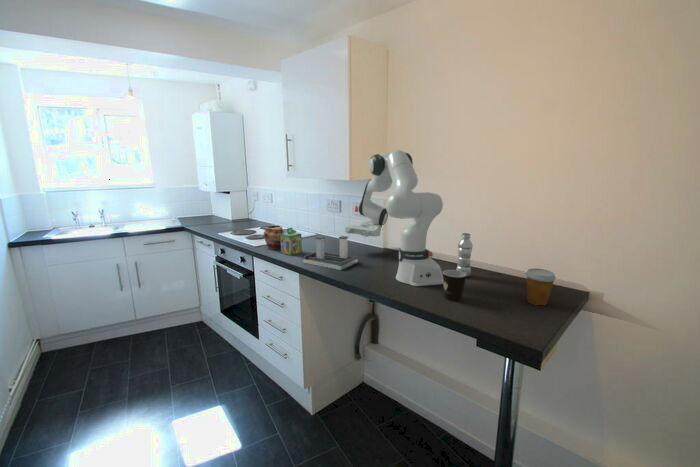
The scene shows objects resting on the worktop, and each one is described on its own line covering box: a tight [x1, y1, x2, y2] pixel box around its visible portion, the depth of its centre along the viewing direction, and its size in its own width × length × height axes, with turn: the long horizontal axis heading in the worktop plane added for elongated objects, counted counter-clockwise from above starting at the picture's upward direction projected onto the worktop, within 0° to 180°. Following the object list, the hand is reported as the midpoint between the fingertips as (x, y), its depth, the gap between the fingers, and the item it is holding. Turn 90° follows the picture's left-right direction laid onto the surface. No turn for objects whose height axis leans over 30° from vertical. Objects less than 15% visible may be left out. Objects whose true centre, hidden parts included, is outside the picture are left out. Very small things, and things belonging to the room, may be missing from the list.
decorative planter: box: [263, 224, 285, 250], centre depth 199 cm, size 20×12×14 cm, turn 43°
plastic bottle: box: [455, 232, 474, 277], centre depth 146 cm, size 6×7×20 cm
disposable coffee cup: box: [525, 268, 557, 306], centre depth 118 cm, size 10×10×12 cm
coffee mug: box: [442, 269, 467, 302], centre depth 123 cm, size 12×9×10 cm
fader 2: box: [338, 235, 349, 259], centre depth 167 cm, size 3×3×12 cm
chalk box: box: [280, 227, 303, 256], centre depth 186 cm, size 9×9×15 cm
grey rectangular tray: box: [302, 251, 359, 271], centre depth 168 cm, size 24×16×4 cm, turn 58°
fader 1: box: [314, 235, 326, 259], centre depth 166 cm, size 3×3×12 cm
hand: (355, 233), depth 176 cm, fingers open, 8 cm apart
